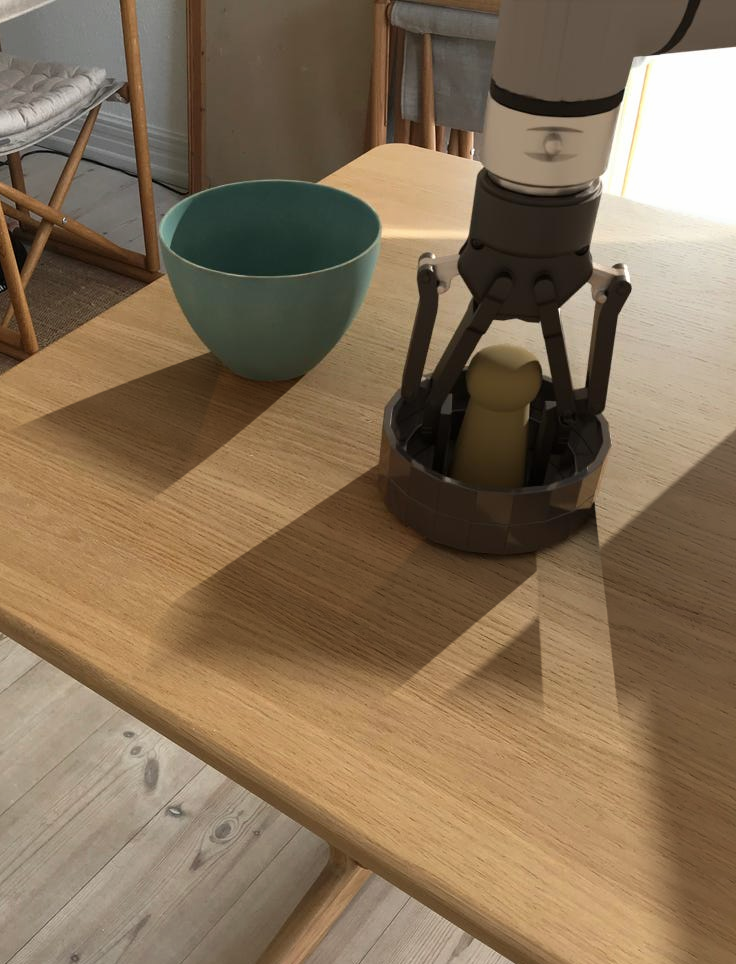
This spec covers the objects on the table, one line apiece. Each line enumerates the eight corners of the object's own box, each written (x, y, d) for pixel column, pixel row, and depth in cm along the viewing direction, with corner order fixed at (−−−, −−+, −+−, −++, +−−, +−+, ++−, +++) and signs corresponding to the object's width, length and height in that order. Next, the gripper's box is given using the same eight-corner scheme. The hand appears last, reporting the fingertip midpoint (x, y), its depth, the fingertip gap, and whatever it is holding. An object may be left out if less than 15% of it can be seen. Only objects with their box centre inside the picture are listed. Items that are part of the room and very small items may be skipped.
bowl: (585, 438, 84) (602, 373, 80) (600, 570, 73) (620, 502, 69) (385, 423, 86) (390, 358, 82) (369, 549, 75) (375, 482, 71)
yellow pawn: (507, 518, 76) (533, 387, 68) (431, 492, 78) (449, 363, 71) (537, 475, 80) (565, 346, 72) (464, 452, 82) (484, 324, 74)
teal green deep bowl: (293, 439, 84) (295, 298, 76) (127, 369, 92) (111, 234, 84) (410, 346, 94) (423, 212, 86) (251, 290, 102) (249, 162, 94)
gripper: (372, 188, 61) (351, 500, 77) (720, 206, 59) (622, 523, 75) (381, 140, 66) (360, 442, 83) (701, 155, 64) (614, 462, 80)
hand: (485, 480), depth 79 cm, fingers open, 7 cm apart
